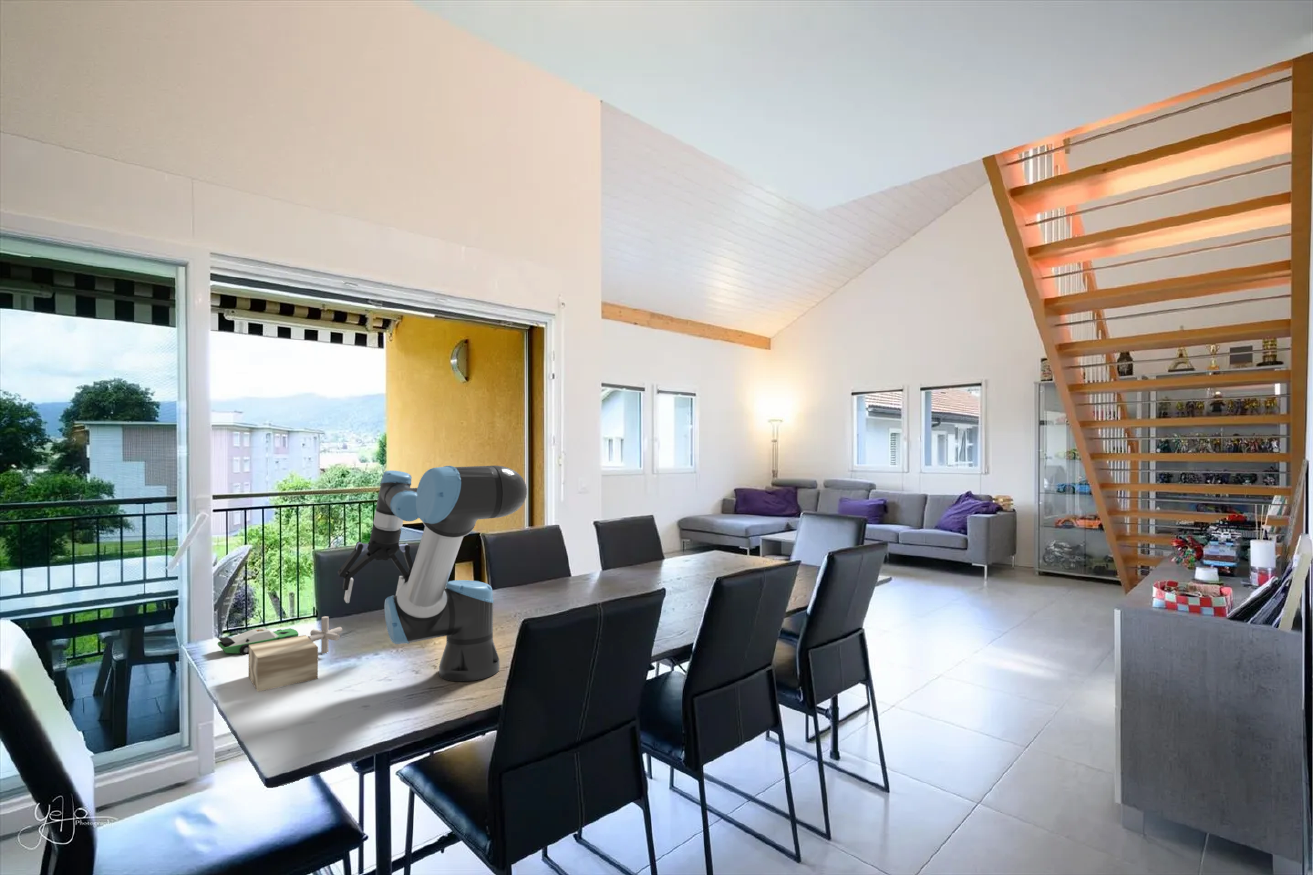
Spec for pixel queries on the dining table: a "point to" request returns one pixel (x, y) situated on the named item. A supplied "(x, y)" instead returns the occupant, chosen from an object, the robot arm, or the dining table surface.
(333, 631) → the pipe connector
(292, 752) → the dining table surface
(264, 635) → the toy car
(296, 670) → the birch block
